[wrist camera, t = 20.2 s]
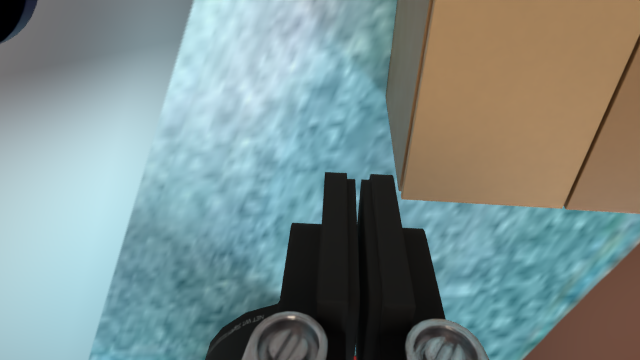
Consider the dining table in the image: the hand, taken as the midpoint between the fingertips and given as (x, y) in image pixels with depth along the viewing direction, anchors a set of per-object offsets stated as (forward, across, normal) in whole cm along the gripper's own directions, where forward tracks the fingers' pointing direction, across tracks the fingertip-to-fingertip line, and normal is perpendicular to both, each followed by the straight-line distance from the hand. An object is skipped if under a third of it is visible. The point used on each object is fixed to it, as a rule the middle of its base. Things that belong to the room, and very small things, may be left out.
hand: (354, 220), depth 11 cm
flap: (+10, -7, -1) cm, 13 cm away
